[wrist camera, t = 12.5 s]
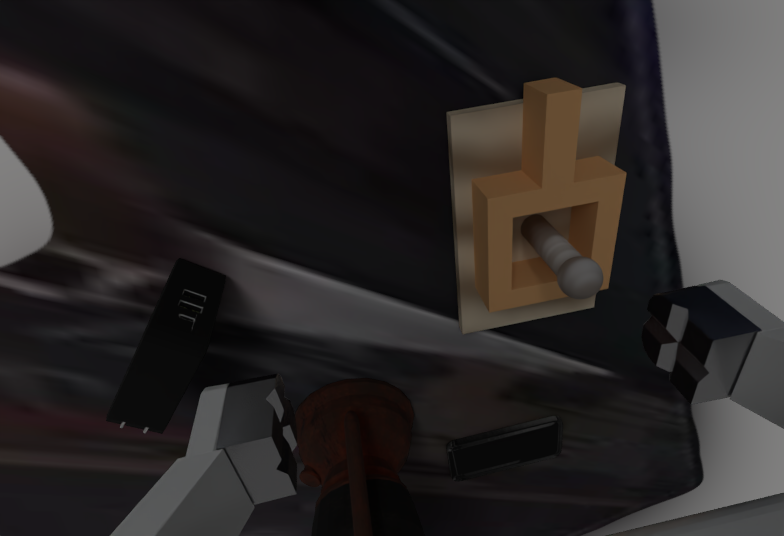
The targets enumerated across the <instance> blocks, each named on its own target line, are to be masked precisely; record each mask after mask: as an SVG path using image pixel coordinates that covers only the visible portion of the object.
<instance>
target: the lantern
mask: <svg viewBox="0 0 784 536" xmlns="http://www.w3.org/2000/svg"><path fill="white" fill-rule="evenodd" d="M295 419H296V427H297V445H298V447H299V455H300V457H301V460H302V462H303V464H304V465H305V468H304V470H303V471H302V472H301V474H300V480H301V481H302V482H303V483H305V484H306V485H308V486H311V487H317V486H319V485H322V486H323V487H322V490H321V495H320V497H319V498H318V500H317V502H316V507H315V516H314V521H313V527H312V535H311V536H425V534H424V531H423V528H422V526H421V523H420V520H419V517H418V514H417V512H416V509H415V506H414V504H413V501H412V499H411V497H410V494H409V492H408V490H407V488H406V486H405V485H404V484H403V483H402V482H401V481H400V479H399V476H398V475H397V473H398V472H399V471H400V470H401V468H402V467H403V465H404V464H405V462H406V461H407V457H408V454H409V449H410V443H411V438H412V433H411V429H412V425H413V419H414V414H413V410H412V407H411V403H410V401H409V399H408V398H407V397H406V396H405V395H404V393H403V392H402V391H401V390H400V389H398V388H396V387H394V386H393V385H391V384H389V383H387V382H384V381H379V380H374V379H369V378H361V379H346V380H342V381H338V382H335V383H331V384H328V385H326V386H324V387H322V388H320V389H319V390H317V391H315V392H313V393H311V394H310V395H309V396H308V397H307V398H306V399H305V400H304V401H303V402H302V403H301V404H300V405H299V407H298V409H297V411H296V413H295Z"/></svg>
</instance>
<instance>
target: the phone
mask: <svg viewBox="0 0 784 536" xmlns="http://www.w3.org/2000/svg"><path fill="white" fill-rule="evenodd" d="M562 432H563V423H562V421H561V419H560V418H559V417H558V416H550V417H546V418H542V419H538V420H534V421H530V422H526V423H522V424H518V425H514V426H510V427H505V428H501V429H497V430H493V431H489V432H485V433H481V434H477V435H473V436H469V437H465V438H461V439H456V440H453V441H451V442H449V443H448V444H447V447H446V448H447V455H448V461H449V467H450V473H451V477H452V479H453V480H454V481H463V480H467V479H471V478H475V477H479V476H483V475H487V474H491V473H495V472H499V471H503V470H507V469H511V468H515V467H519V466H523V465H527V464H531V463H535V462H539V461H543V460H547V459H551V458H554V457H556V456H558V455H559V454H560V453H561V448H562Z"/></svg>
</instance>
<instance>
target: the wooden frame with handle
mask: <svg viewBox="0 0 784 536" xmlns="http://www.w3.org/2000/svg"><path fill="white" fill-rule="evenodd" d="M581 99H582V88H580V87H578V86H575V85H573V84H571V83H568V82H566V81H563V80H561V79H558V78H556V77H555V78H550V79H544V80H538V81H532V82H526V83H524V92H523V128H522V163H521V170H519V171H514V172H509V173H503V174H498V175H492V176H487V177H482V178H476V179H472V207H473V236H474V265H475V288H476V289H477V291H478V293H479V295H480V297H481V299H482V300H483V302H484V304H485V306H486V308H487V310H488V311H489V313H491V312H495V311H500V310H505V309H510V308H515V307H520V306H525V305H530V304H535V303H540V302H544V301H549V300H554V299H559V298H564V297H569V296H567V295H566V294H565V293H563V291H562V290H561V289H560V287H559V285H558V282H557V276H556V275H555V273H554V272H553V271H552V270H551V269H550V267H549V266H548V265H547V264H546V263H545V261H544V260H543V259H542V258H541V257H537V258H532V259H527V260H522V261H517V262H512V235H513V218H514V217H520V216H525V215H530V214H535V213H540V212H546V211H551V210H556V209H561V208H567V207H572V209H571V219H570V230H569V240H568V242H569V243H570V244H571V245H572V246H573V247H574V248H575V249H576V250H577V251H578V252H579V253H580V254H581V255H582V256H583V257H588V258H590V259H592V260H594V261H595V262H596V263H597V264H598V265H599V266H600V267H601V269H602V272H603V284H602V286H601V288H600V290H603V289H608V286H609V280H610V274H611V267H612V261H613V255H614V249H615V242H616V236H617V230H618V224H619V217H620V211H621V205H622V199H623V192H624V186H625V180H626V174H627V173H626V172H624V171H623V170H621V169H619V168H618V167H616V166H615V165H613V164H611V163H610V162H608V161H607V160H605V159H603V158H602V157H600V156H595V157H590V158H584V159H579V160H576V152H577V141H578V130H579V120H580V109H581Z"/></svg>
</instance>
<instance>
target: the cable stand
mask: <svg viewBox="0 0 784 536" xmlns="http://www.w3.org/2000/svg"><path fill="white" fill-rule="evenodd" d="M625 88H626V85H623V84H621V83H618V82H616V83H611V84H605V85H599V86H593V87H588V88H582V99H581V109H580V120H579V130H578V141H577V152H576V160H579V159H584V158H590V157H595V156H600V157H602V158H603V159H605V160H607V161H608V162H610V163H611V164H613V165H615V158H616V151H617V144H618V137H619V130H620V123H621V116H622V109H623V102H624V95H625ZM446 115H447V131H448V148H449V164H450V181H451V197H452V214H453V230H454V247H455V263H456V280H457V296H458V313H459V327H460V329H461V332H462V334H467V333H472V332H476V331H481V330H486V329H491V328H496V327H501V326H506V325H510V324H515V323H520V322H525V321H530V320H535V319H540V318H544V317H549V316H554V315H559V314H564V313H569V312H573V311H578V310H583V309H588V308H593V307H594V304H595V297H596V293H597V292H598V291H599V290H600V288H601V286H602V284H603V272H602V269H601V267H600V266H599V265H598V264H597V263H596V262H595V261H594V260H592V259H590V258H588V257H583V256H582V255H581V254H580V253H579V252H578V251H577V250H576V249H575V248H574V247H573V246H572V245H571V244H570V243H569V242H568V240H569V230H570V219H571V209H572V207H567V208H561V209H556V210H551V211H546V212H540V213H535V214H530V215H525V216H520V217H514V218H513V235H512V262H517V261H522V260H527V259H532V258H537V257H541V258H542V259H543V260H544V261H545V263H546V264H547V265H548V266H549V267H550V269H551V270H552V271H553V272H554V273H555V275H556V276H557V282H558V285H559V287H560V289H561V290H562V291H563V293H565V294H566V295H567V296H569V297H564V298H559V299H554V300H549V301H544V302H540V303H535V304H530V305H525V306H520V307H515V308H510V309H505V310H500V311H495V312H491V313H489V311H488V310H487V308H486V306H485V304H484V302H483V300H482V299H481V297H480V295H479V293H478V291H477V289H476V288H475V265H474V236H473V207H472V179H476V178H482V177H487V176H492V175H498V174H503V173H509V172H514V171H519V170H521V163H522V128H523V99H519V100H513V101H507V102H501V103H496V104H490V105H484V106H478V107H473V108H467V109H461V110H455V111H450V112H446Z"/></svg>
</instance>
